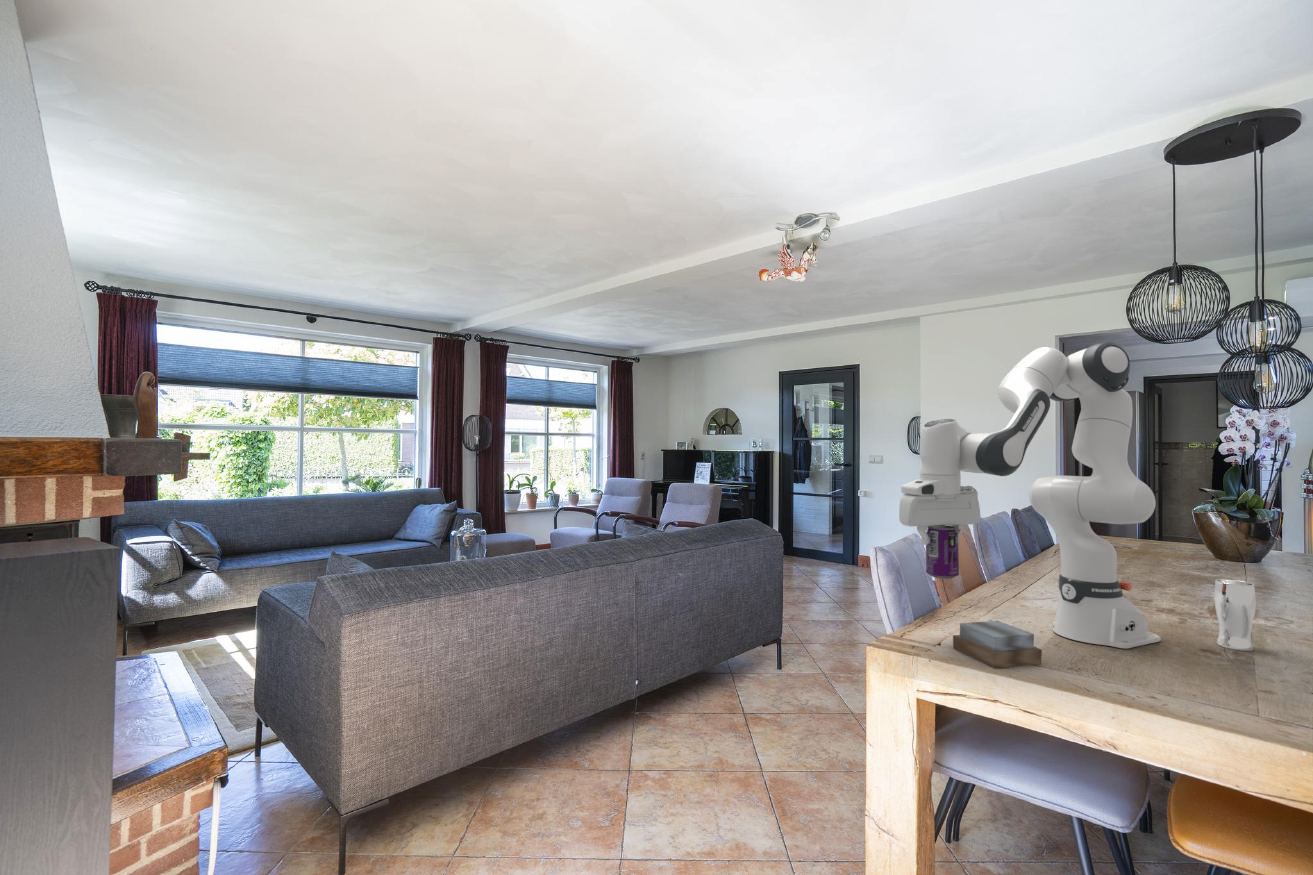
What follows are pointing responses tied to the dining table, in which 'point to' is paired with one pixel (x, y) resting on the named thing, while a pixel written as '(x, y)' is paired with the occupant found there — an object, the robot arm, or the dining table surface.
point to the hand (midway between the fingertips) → (940, 543)
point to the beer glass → (1235, 613)
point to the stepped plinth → (997, 655)
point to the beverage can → (942, 552)
